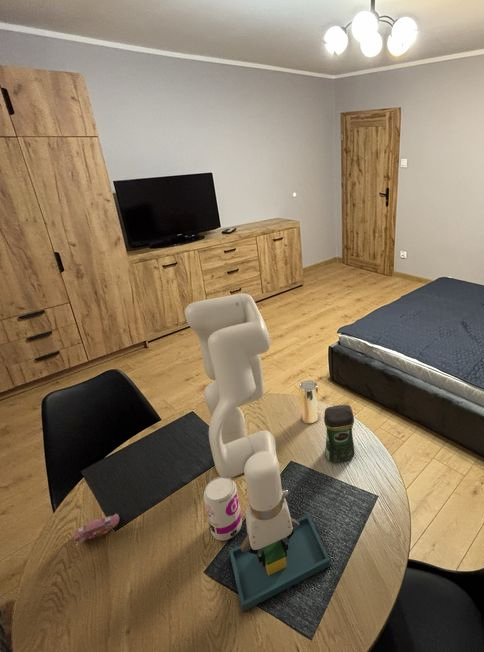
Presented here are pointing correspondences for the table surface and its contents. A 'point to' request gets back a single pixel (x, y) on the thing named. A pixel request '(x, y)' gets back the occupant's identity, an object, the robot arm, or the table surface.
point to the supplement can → (222, 508)
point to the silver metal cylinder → (309, 400)
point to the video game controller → (96, 528)
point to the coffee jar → (339, 433)
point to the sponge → (274, 557)
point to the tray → (300, 561)
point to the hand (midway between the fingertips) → (273, 555)
